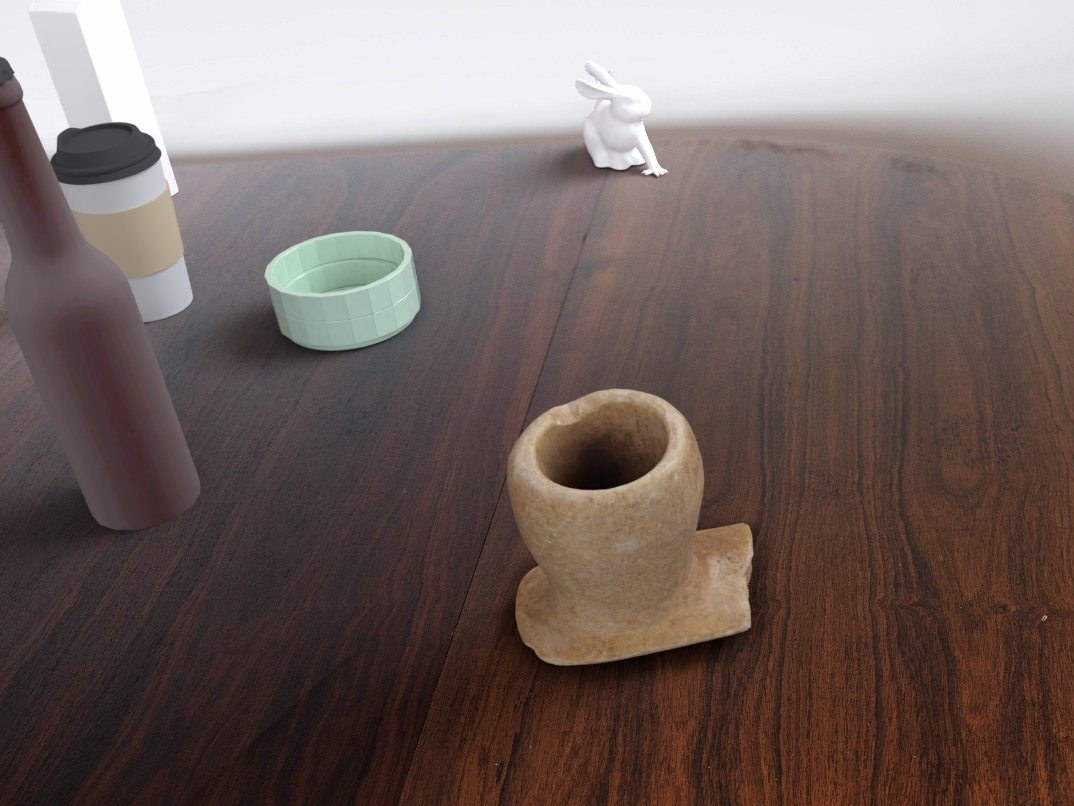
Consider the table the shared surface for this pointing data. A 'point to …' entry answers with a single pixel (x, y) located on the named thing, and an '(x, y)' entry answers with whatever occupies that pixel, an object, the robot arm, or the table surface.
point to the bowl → (344, 290)
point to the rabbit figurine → (616, 123)
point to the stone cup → (621, 534)
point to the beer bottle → (86, 342)
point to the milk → (96, 67)
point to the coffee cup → (126, 210)
